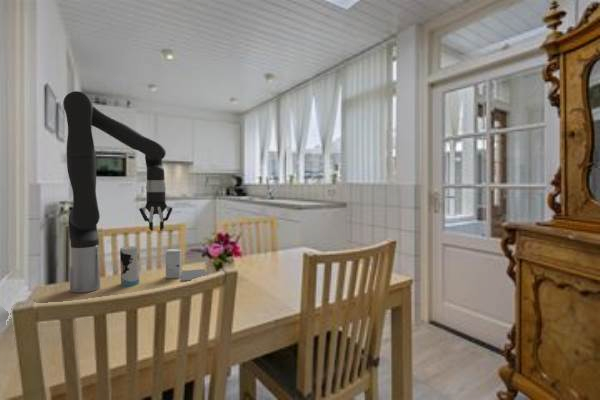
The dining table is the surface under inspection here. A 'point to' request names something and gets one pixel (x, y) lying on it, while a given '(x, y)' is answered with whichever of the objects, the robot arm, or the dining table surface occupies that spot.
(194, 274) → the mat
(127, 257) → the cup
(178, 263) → the skincare box
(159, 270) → the dining table surface
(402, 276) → the dining table surface
